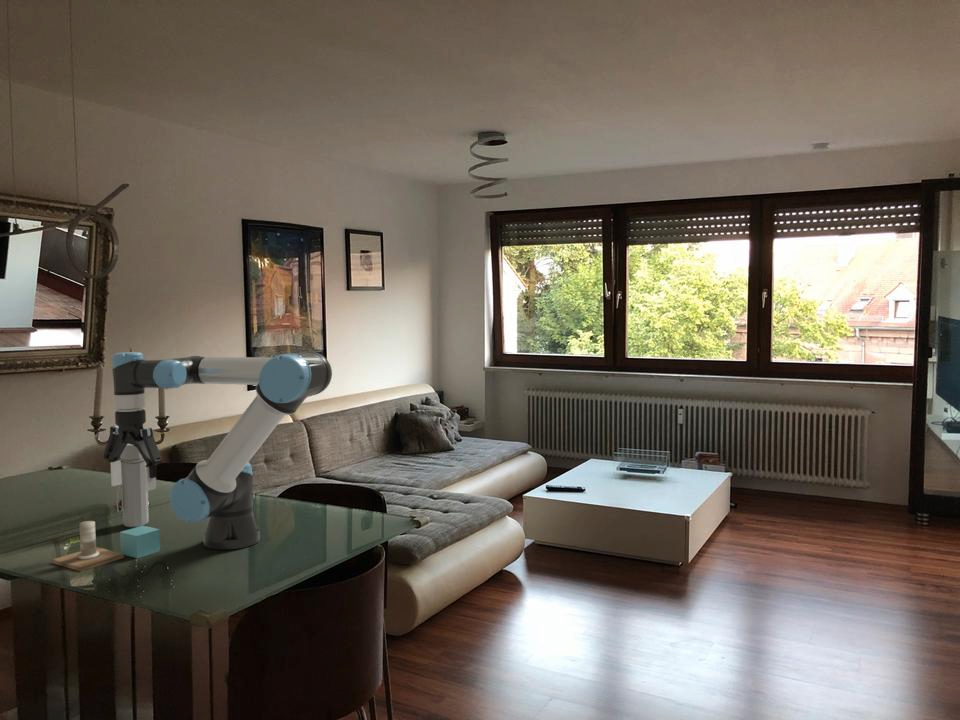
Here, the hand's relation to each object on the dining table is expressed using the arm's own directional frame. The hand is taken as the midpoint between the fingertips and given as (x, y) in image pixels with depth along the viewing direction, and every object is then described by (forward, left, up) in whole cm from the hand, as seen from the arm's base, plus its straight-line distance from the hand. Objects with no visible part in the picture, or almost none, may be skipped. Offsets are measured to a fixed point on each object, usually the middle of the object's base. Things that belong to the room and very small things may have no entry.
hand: (133, 487), depth 206 cm
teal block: (-3, +1, -17) cm, 18 cm away
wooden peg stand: (+3, +12, -17) cm, 21 cm away
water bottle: (+21, -14, -18) cm, 31 cm away
